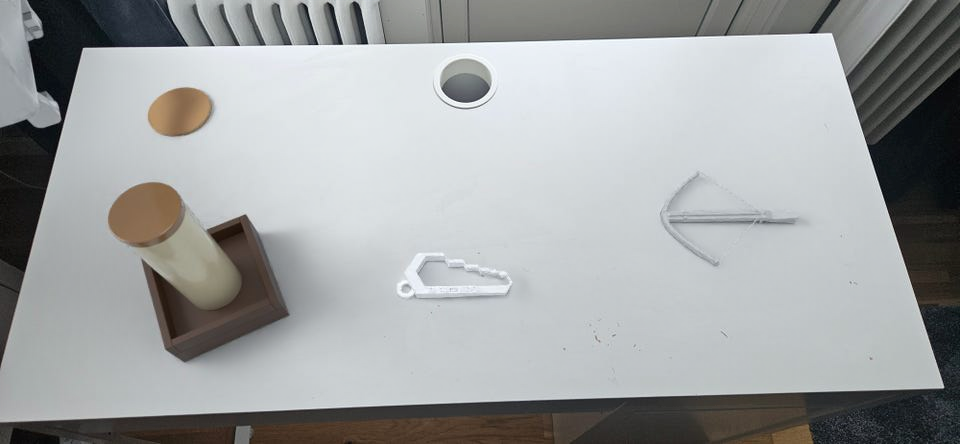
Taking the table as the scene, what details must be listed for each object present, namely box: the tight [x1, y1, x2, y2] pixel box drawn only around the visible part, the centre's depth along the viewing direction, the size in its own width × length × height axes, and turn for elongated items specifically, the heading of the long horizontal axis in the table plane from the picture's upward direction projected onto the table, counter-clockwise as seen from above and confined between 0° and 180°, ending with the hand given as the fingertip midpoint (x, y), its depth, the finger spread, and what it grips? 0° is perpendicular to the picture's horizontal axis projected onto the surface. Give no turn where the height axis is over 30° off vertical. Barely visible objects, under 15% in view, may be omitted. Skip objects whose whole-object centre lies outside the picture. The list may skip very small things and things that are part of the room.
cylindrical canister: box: [107, 181, 242, 310], centre depth 57 cm, size 6×6×16 cm
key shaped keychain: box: [396, 252, 513, 300], centre depth 67 cm, size 13×5×2 cm, turn 91°
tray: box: [140, 213, 290, 363], centre depth 64 cm, size 12×12×4 cm
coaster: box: [147, 87, 212, 137], centre depth 79 cm, size 8×8×1 cm
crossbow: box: [660, 170, 799, 266], centre depth 72 cm, size 16×13×2 cm
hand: (41, 74), depth 45 cm, fingers open, 8 cm apart
